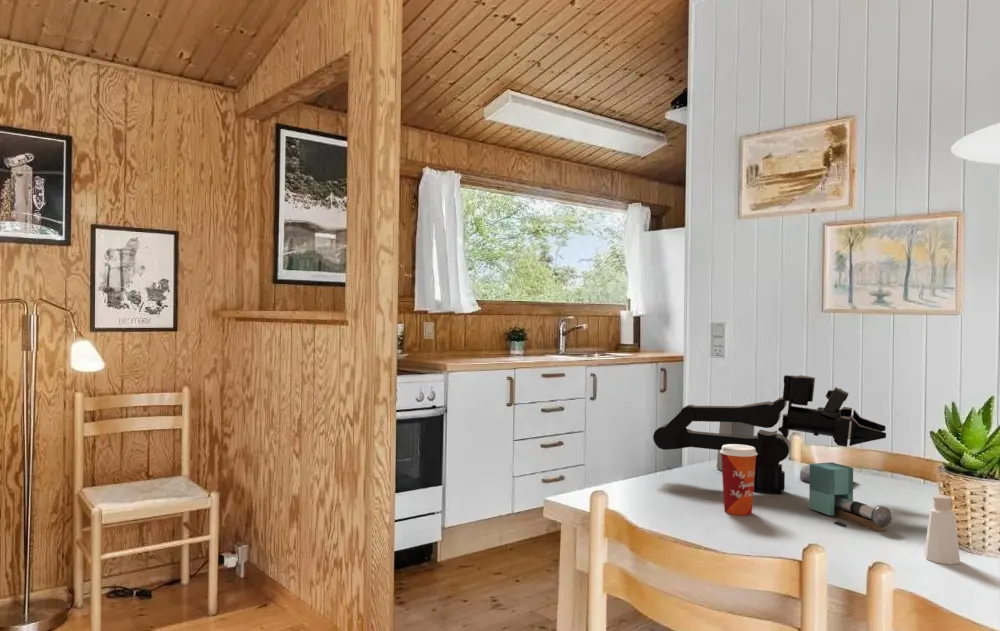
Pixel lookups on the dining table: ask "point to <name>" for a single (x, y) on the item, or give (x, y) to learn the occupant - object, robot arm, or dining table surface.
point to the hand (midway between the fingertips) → (885, 431)
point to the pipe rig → (861, 514)
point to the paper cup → (738, 478)
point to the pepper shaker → (942, 533)
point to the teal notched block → (829, 485)
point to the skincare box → (733, 429)
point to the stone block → (805, 473)
